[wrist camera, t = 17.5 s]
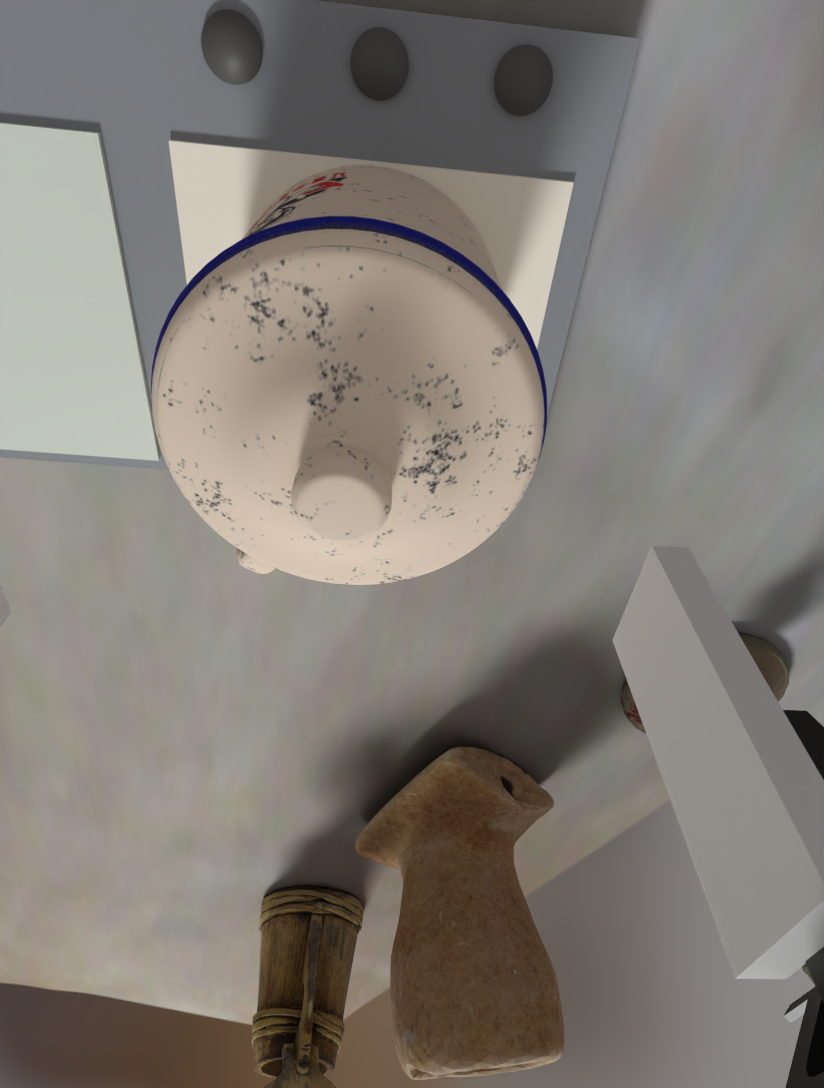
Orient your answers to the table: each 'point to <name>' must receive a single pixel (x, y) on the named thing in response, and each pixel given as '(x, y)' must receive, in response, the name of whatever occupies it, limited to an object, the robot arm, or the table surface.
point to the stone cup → (466, 921)
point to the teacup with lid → (351, 384)
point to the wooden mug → (303, 983)
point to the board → (261, 172)
